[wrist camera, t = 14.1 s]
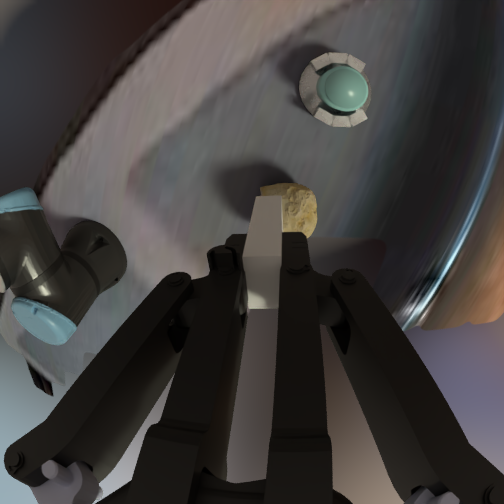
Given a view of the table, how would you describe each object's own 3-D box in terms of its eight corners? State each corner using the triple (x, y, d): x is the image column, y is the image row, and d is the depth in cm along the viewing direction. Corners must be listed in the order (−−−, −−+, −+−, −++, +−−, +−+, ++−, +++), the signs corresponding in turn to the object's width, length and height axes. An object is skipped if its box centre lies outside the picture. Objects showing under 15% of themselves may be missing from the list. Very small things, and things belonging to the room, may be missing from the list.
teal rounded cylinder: (317, 108, 35) (323, 110, 30) (314, 68, 32) (320, 64, 27) (357, 110, 35) (369, 113, 30) (356, 71, 32) (368, 68, 26)
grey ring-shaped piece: (301, 123, 37) (303, 126, 34) (296, 55, 32) (297, 51, 29) (370, 125, 36) (378, 128, 33) (368, 58, 31) (375, 56, 28)
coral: (231, 189, 37) (303, 196, 32) (266, 174, 45) (326, 179, 40) (237, 254, 41) (302, 268, 37) (268, 228, 49) (324, 238, 44)
